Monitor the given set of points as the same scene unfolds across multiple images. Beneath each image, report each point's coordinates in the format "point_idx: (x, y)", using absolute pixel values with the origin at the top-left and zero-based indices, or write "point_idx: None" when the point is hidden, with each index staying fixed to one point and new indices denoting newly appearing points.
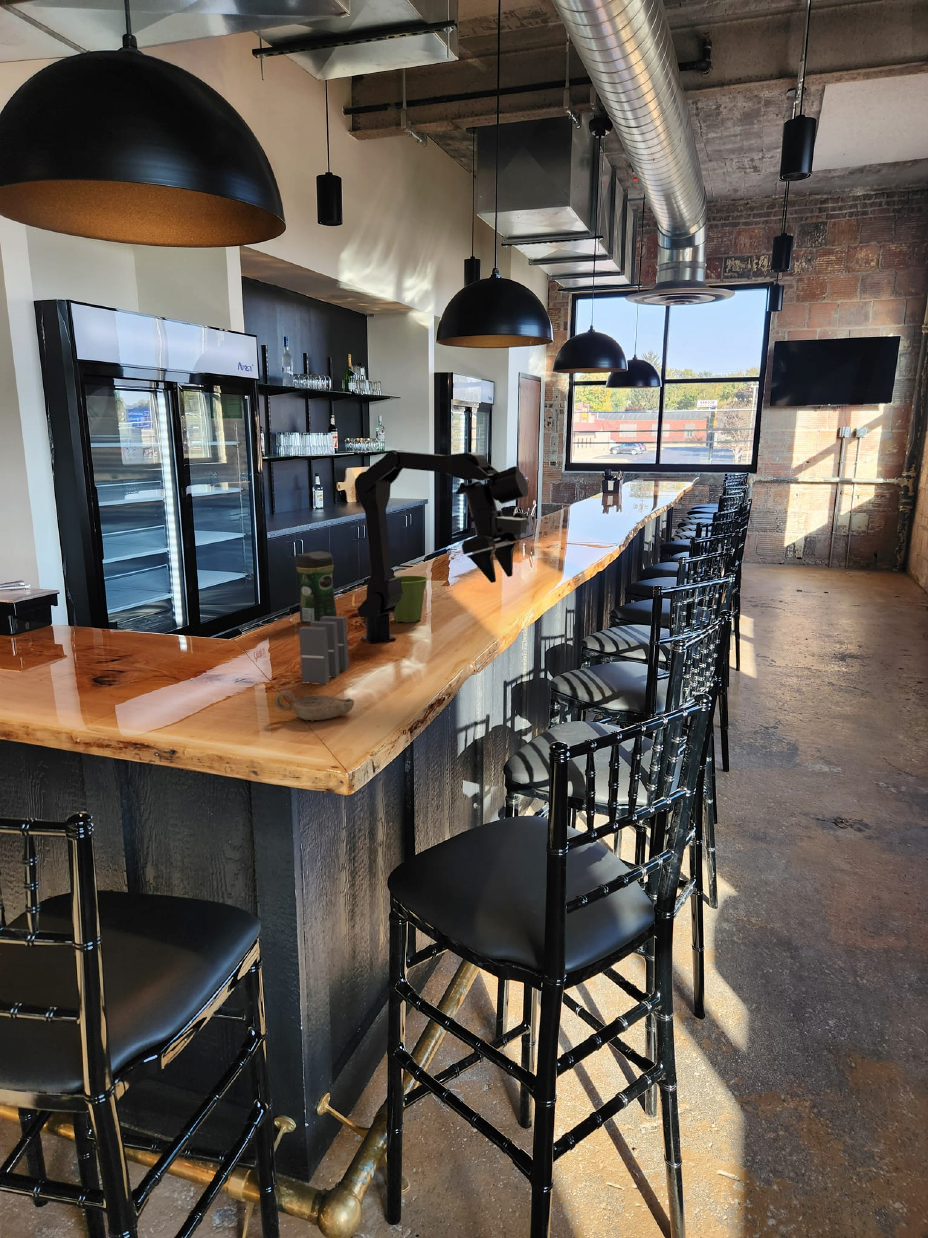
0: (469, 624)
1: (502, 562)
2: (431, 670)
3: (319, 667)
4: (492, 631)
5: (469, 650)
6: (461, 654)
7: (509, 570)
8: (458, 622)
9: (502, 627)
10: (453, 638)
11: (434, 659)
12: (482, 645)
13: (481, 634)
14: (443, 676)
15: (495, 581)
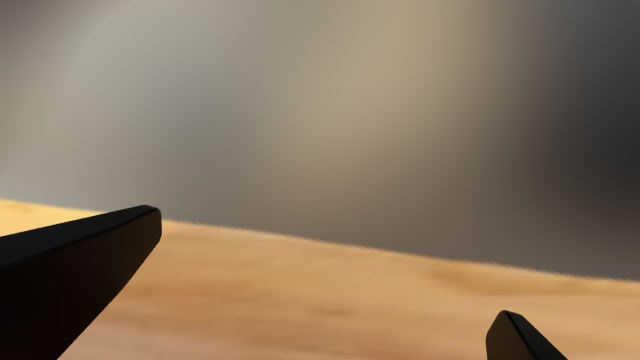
0: None
1: (31, 353)
2: (569, 348)
3: None
4: None
5: (336, 277)
6: (383, 293)
7: (124, 241)
8: None
9: None
10: (212, 337)
11: (447, 356)
12: (274, 250)
13: (153, 269)
14: (633, 308)
15: (513, 312)
